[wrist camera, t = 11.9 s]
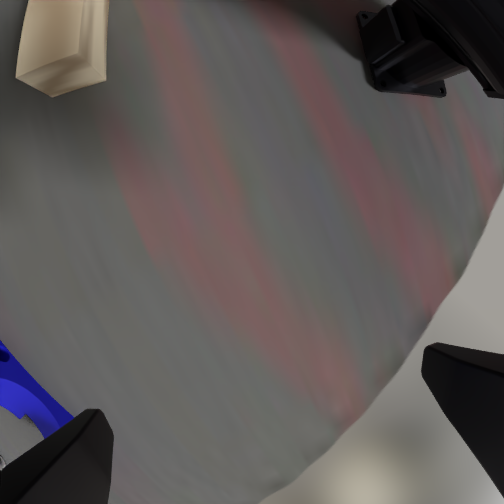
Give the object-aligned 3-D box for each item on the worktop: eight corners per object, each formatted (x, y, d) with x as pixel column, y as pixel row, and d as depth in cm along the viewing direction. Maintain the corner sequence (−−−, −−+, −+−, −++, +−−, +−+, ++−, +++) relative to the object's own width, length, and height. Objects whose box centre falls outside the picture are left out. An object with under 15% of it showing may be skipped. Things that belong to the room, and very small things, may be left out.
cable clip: (-19, 359, 18) (-55, 393, 12) (-3, 334, 18) (-44, 369, 12) (75, 452, 20) (57, 498, 15) (100, 437, 20) (83, 487, 15)
